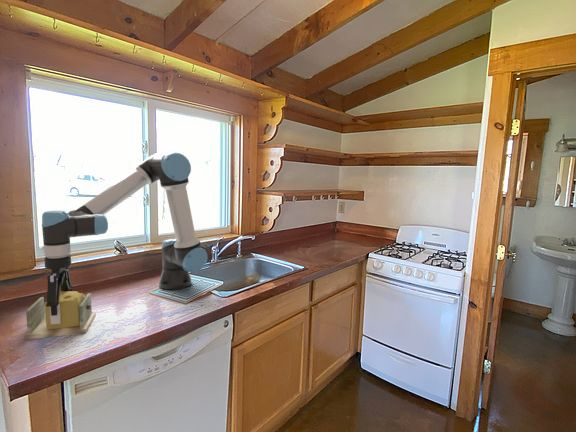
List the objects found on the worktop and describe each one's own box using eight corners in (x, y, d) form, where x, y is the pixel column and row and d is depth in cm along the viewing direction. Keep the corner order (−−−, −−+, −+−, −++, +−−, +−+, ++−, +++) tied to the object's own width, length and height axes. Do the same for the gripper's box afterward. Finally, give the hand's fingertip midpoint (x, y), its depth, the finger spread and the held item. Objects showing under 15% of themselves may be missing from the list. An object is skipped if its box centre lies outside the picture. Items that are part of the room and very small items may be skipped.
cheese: (88, 314, 123) (86, 288, 122) (80, 327, 113) (78, 299, 112) (55, 317, 120) (53, 291, 119) (44, 331, 110) (42, 302, 109)
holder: (95, 315, 126) (94, 292, 125) (86, 332, 113) (84, 306, 111) (40, 321, 120) (38, 296, 119) (23, 339, 107) (21, 312, 106)
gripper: (56, 248, 123) (59, 304, 125) (30, 265, 101) (35, 333, 104) (79, 247, 125) (82, 302, 128) (59, 264, 103) (63, 330, 106)
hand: (61, 316), depth 116 cm, fingers closed on cheese, 11 cm apart
